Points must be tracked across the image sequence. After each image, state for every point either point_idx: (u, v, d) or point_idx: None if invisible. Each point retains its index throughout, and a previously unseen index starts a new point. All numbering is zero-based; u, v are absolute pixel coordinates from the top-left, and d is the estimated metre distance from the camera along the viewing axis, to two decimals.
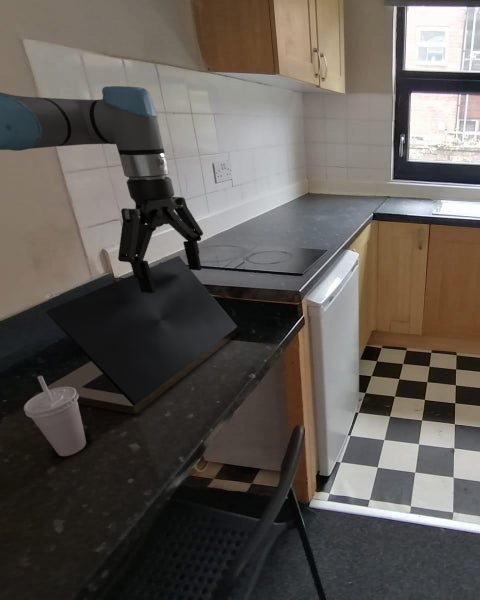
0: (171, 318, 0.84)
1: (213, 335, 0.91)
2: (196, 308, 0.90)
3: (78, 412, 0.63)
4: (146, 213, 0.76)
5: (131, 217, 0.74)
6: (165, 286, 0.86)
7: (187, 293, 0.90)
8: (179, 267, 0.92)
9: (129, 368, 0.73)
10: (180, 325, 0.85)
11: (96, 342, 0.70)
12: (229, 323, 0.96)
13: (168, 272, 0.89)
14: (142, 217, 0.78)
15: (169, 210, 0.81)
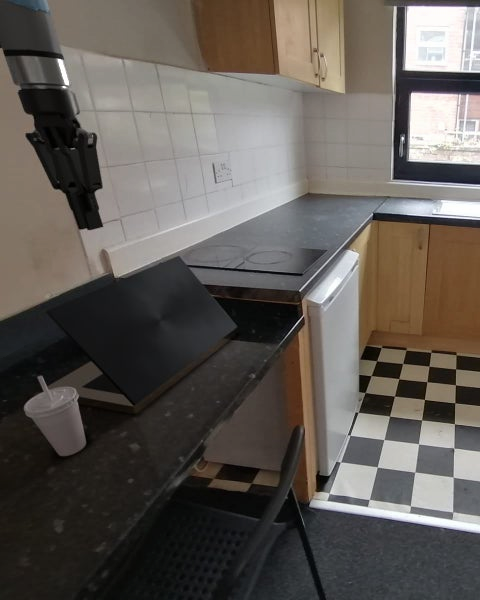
0: (171, 318, 0.84)
1: (213, 335, 0.91)
2: (196, 308, 0.90)
3: (78, 412, 0.63)
4: None
5: (95, 143, 0.70)
6: (165, 286, 0.86)
7: (187, 293, 0.90)
8: (179, 267, 0.92)
9: (129, 368, 0.73)
10: (180, 325, 0.85)
11: (96, 342, 0.70)
12: (229, 323, 0.96)
13: (168, 272, 0.89)
14: None
15: None
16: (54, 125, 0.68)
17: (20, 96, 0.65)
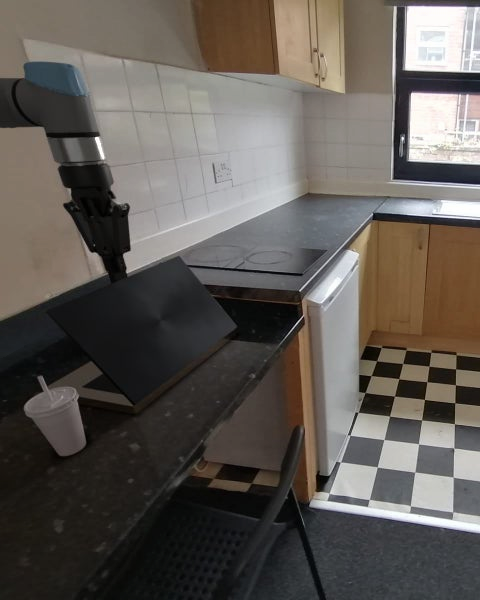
0: (171, 318, 0.84)
1: (213, 335, 0.91)
2: (196, 308, 0.90)
3: (78, 412, 0.63)
4: None
5: (127, 212, 0.74)
6: (165, 286, 0.86)
7: (187, 293, 0.90)
8: (179, 267, 0.92)
9: (129, 368, 0.73)
10: (180, 325, 0.85)
11: (96, 342, 0.70)
12: (229, 323, 0.96)
13: (169, 272, 0.89)
14: None
15: None
16: (90, 196, 0.72)
17: (60, 173, 0.69)
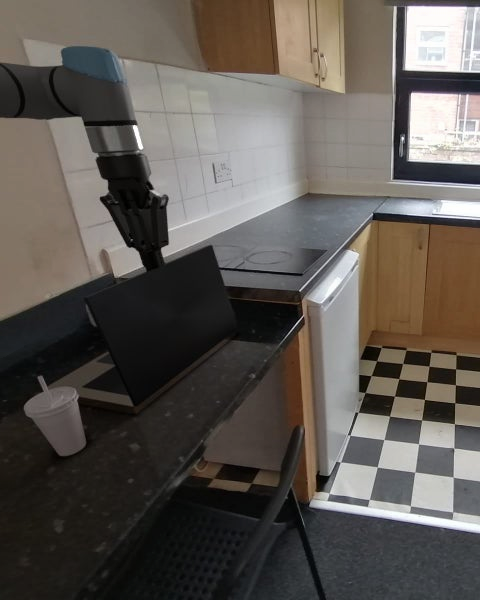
0: (188, 315, 0.83)
1: (217, 336, 0.90)
2: (211, 305, 0.89)
3: (78, 412, 0.63)
4: None
5: (166, 204, 0.71)
6: (192, 278, 0.84)
7: (208, 288, 0.88)
8: (209, 258, 0.89)
9: (141, 367, 0.72)
10: (193, 323, 0.84)
11: (120, 337, 0.68)
12: (233, 324, 0.96)
13: (198, 263, 0.86)
14: None
15: None
16: (128, 188, 0.70)
17: (98, 163, 0.66)
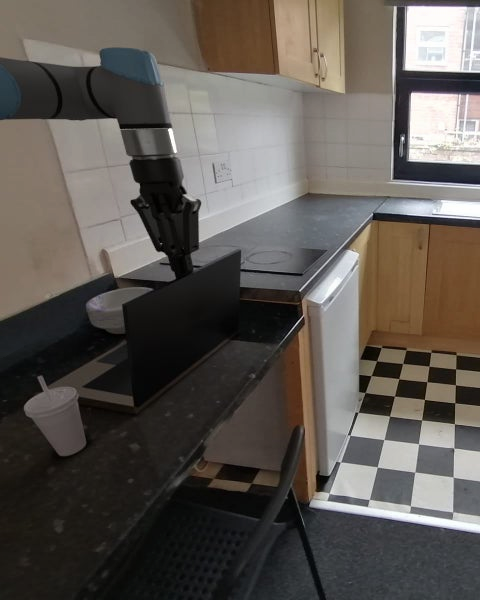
0: (202, 318, 0.82)
1: (219, 337, 0.90)
2: (223, 309, 0.88)
3: (78, 412, 0.63)
4: None
5: (198, 208, 0.70)
6: (216, 283, 0.83)
7: (226, 292, 0.87)
8: (234, 263, 0.87)
9: (151, 371, 0.72)
10: (204, 326, 0.83)
11: (142, 343, 0.67)
12: (235, 325, 0.96)
13: (225, 268, 0.84)
14: None
15: None
16: (161, 192, 0.68)
17: (133, 167, 0.65)
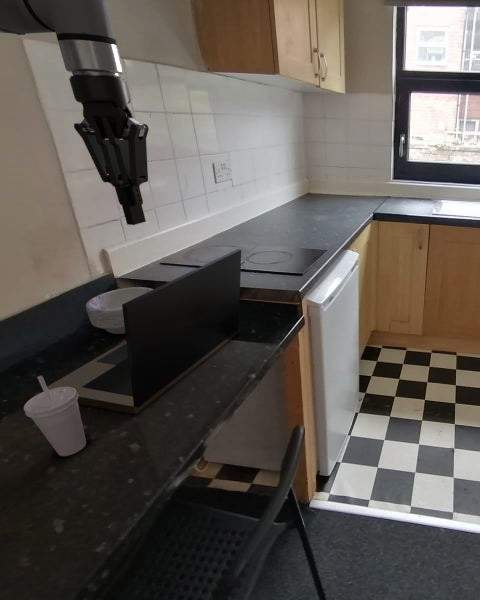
0: (202, 318, 0.82)
1: (219, 337, 0.90)
2: (223, 309, 0.88)
3: (78, 412, 0.63)
4: None
5: (145, 134, 0.67)
6: (216, 283, 0.83)
7: (226, 292, 0.87)
8: (235, 263, 0.87)
9: (151, 371, 0.72)
10: (204, 326, 0.83)
11: (142, 343, 0.67)
12: (235, 325, 0.96)
13: (225, 268, 0.84)
14: None
15: None
16: (105, 114, 0.65)
17: (72, 83, 0.61)
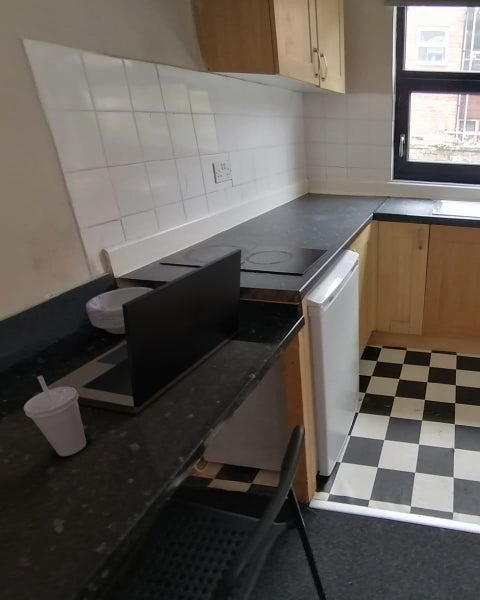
0: (202, 318, 0.82)
1: (219, 337, 0.90)
2: (223, 309, 0.88)
3: (78, 412, 0.63)
4: None
5: None
6: (216, 283, 0.83)
7: (226, 292, 0.87)
8: (235, 263, 0.87)
9: (151, 371, 0.72)
10: (204, 326, 0.83)
11: (142, 343, 0.67)
12: (235, 325, 0.96)
13: (225, 268, 0.84)
14: None
15: None
16: None
17: None
